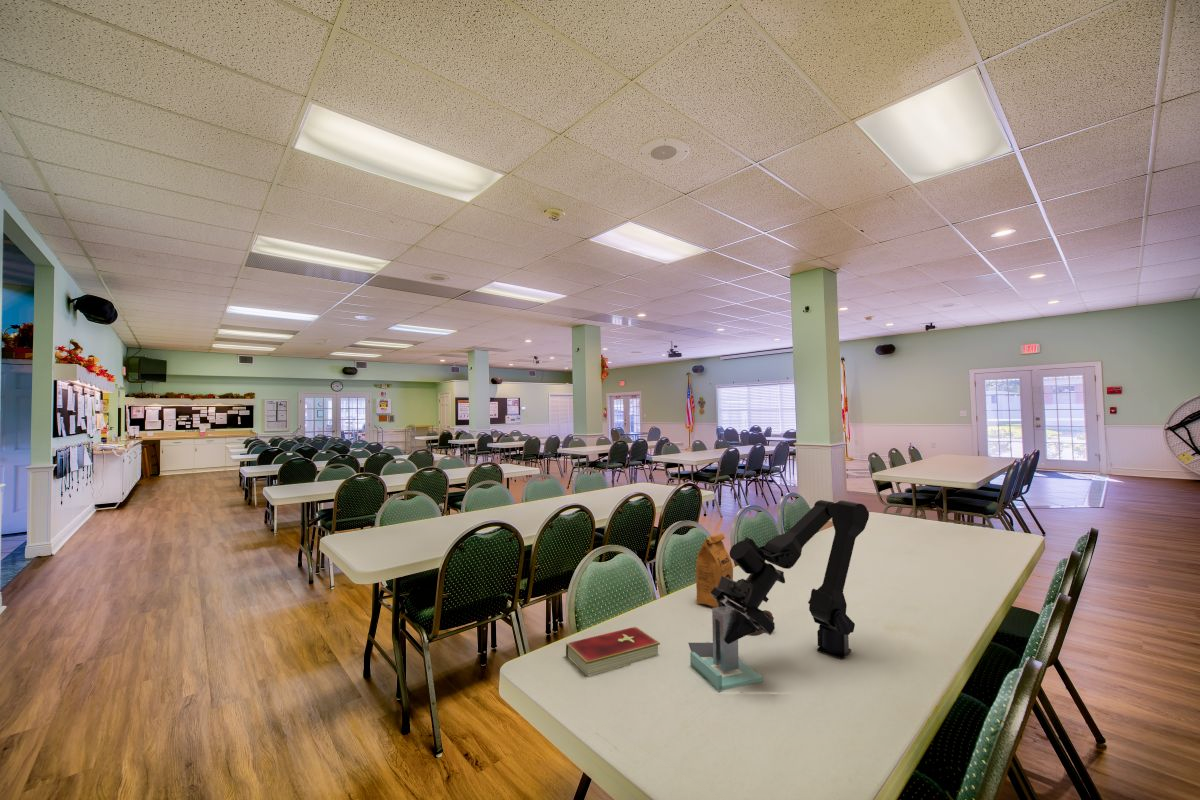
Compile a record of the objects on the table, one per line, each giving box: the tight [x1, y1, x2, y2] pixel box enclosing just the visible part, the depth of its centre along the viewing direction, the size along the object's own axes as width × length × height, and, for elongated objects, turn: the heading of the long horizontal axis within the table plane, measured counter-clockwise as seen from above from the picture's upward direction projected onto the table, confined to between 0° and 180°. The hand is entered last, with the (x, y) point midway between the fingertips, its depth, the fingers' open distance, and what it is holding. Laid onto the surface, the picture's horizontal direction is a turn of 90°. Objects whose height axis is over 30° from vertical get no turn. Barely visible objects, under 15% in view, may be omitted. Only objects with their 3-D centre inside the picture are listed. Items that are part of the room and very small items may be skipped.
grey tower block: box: [711, 606, 740, 672], centre depth 117 cm, size 4×4×13 cm
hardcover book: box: [565, 626, 661, 677], centre depth 126 cm, size 12×21×4 cm, turn 118°
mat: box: [687, 642, 713, 658], centre depth 128 cm, size 8×8×1 cm
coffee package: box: [695, 533, 734, 608], centre depth 163 cm, size 10×12×22 cm
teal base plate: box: [689, 652, 764, 693], centre depth 116 cm, size 12×12×4 cm
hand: (720, 638), depth 116 cm, fingers closed on grey tower block, 4 cm apart
